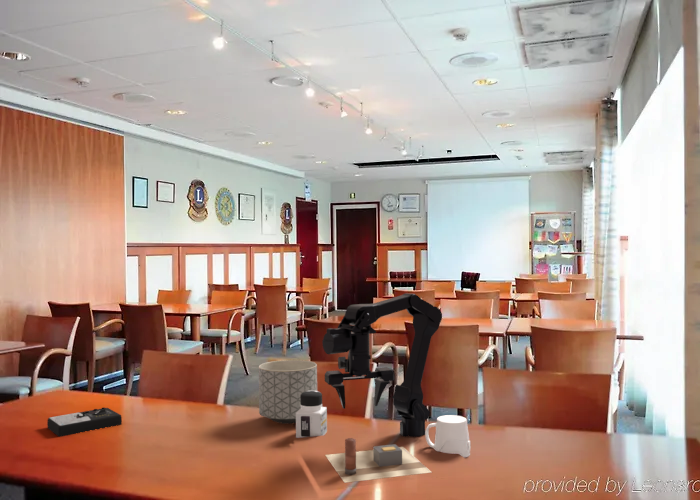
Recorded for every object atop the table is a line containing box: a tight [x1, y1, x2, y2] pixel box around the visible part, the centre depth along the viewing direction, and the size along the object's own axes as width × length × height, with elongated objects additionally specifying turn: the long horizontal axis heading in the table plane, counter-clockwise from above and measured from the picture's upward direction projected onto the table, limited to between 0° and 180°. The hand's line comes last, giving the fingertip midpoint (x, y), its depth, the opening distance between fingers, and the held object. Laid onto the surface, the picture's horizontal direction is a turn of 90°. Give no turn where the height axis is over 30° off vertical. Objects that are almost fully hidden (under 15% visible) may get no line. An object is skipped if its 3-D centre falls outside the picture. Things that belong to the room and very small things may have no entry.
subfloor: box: [324, 446, 432, 484], centre depth 151 cm, size 22×20×1 cm
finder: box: [372, 443, 402, 467], centre depth 152 cm, size 6×5×4 cm
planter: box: [258, 359, 318, 425], centre depth 196 cm, size 19×19×18 cm
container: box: [295, 390, 328, 439], centre depth 180 cm, size 8×8×13 cm
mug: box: [424, 414, 471, 458], centre depth 162 cm, size 12×9×8 cm
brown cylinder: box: [344, 437, 357, 475], centre depth 145 cm, size 3×3×8 cm
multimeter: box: [46, 407, 123, 438], centre depth 192 cm, size 13×19×5 cm
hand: (359, 407), depth 165 cm, fingers open, 9 cm apart
